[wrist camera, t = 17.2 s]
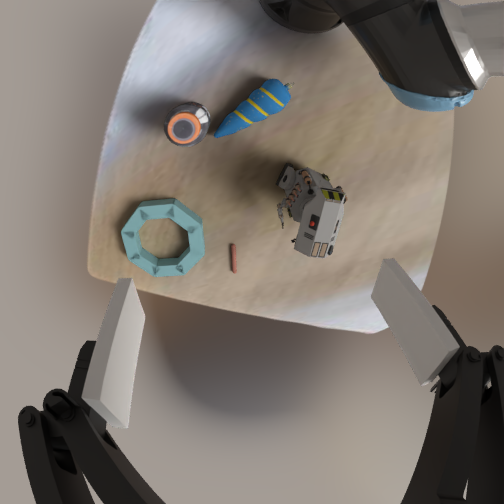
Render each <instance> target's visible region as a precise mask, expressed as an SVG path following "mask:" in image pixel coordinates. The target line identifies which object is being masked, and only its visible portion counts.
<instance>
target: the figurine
mask: <svg viewBox="0 0 504 504" xmlns="http://www.w3.org/2000/svg"><path fill="white" fill-rule="evenodd" d="M293 168H294V167H293V165H291V164H289V163H286V165H285V167H284V169H283V171H282V173H281V175H280V177H279V179H278V181H277V183H276V185H277V186H279V187H280V188H283V189H284V190H285V193H286V197H287V198H286V199H285V198H284V199H283V200H282V202H281V204H277V207H278V209H277V211H278V214H279V218H281V222H282V229H283V226H284V225H283V224H284V223H283V214H282V207H284V206H285V207H286V208H287V209H288V213H289V216H290V217H293V220H294V221H297V222H300V227H299V231H298V234H297V238H296V239H293V240H291V241H292V243H294V242H295V241H294V240H296V242H295V247H294V249H295V250H297V251H299V252H301V253H303V254H305V255H307V256H309V257H316V258H326V257H327V256H328V255H331V254H332V252H333V247H334V244H335V241H336V238H337V235H338V231H339V228H340V225H341V221H342V218H343V215H344V207H343V204H344V203H345V202H346V201H347V197H346V195H345V194H346V193H344V192H343V190H342V188H341V187H340V186H338V187H336V188H334V189H333V187H332V185H331V184H330V182H329V180H330V179H329V178H328V176H327V175H325V174H320V173H318V172H316V171H314V170H312V169H310V168H308V167H307V168H304V169H300V170H297V171H295V170H294V169H293ZM343 202H344V203H343Z"/></svg>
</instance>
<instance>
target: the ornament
mask: <svg viewBox="0 0 504 504" xmlns="http://www.w3.org/2000/svg"><path fill="white" fill-rule="evenodd" d="M291 84H292V83H291ZM293 85H294V84H293ZM291 86H292V85H290V84H289V83H288V84H286V85H283V84H282V83H281V82H280V81H279V80H277V79H269V80H267V81H266V82H264V83H263V85H262V86H261V87H260V89H256V90H254V91H253V92H252V93H251V95H250V96H249V97H248V99H247V100H245V101H243V102H242V103H240V104H239V106H238V107H237V108H236V109H235V111H234V112H231V113H230V114H228V115H227V117H226V118H225V119H224V120H223V122H222V123H221V125H220V126H219V128H218V129H217V131H216V132H215V133H214V137H215V138H218V137H222V136H225V135H229V134H233V133H235V132H237V131H238V130H241V129H244V128H247V127H249V126H250V125H251V124H252V123H253V122H258V121H262V120H264V119H266V118H267V117H268V115H271V114H275V113H278V112H280V111H281V110H282V109H283V108H284V107H285V106H286V104H287V103H288V102H289V100H290V99H291V95H290V94H289V92H288V91H287V90H288V89H290V88H292V87H291Z"/></svg>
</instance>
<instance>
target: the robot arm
mask: <svg viewBox="0 0 504 504" xmlns="http://www.w3.org/2000/svg"><path fill="white" fill-rule="evenodd" d="M260 3H261V5H262V7H263V8H264V10H265V11H266V13H267V14H268V15H269V16H270V17H271V18H272V19H274V20H275V21H276V22H278V23H279V24H281V25H283V26H284V27H287V28H289V29H291V30H294V31H298V32H303V33H322V32H326V31H329V30H331V29H333V28H336V27H338V26H339V25H341V24H342V23H343V22H344V23H345V24H346V26H347V27H348V28H349V30H350V31H351V32H352V34H353V35H354V36H355V38H356V39H357V40H358V42H359V43H360V44H361V46H362V47H363V48H364V50H365V51H366V53H367V54H368V56H369V57H370V59H371V60H372V61H373V63H374V64H375V66H376V68H377V69H378V71H379V75H380V77H381V78H382V80H383V81H384V82H385V83H386V84H387V85H388V86H389V88H390V90H391V91H392V93H393V94H394V96H395V97H396V98H397V99H398V100H399V101H400V102H402V103H403V104H404V105H406V106H408V107H411V108H413V109H417V110H422V111H433V112H434V111H447V110H452V109H454V106H458V107H462V106H464V105H465V104H467V103H468V102H469V101H470V100H471V99H472V97H473V92H474V90H481V89H483V87H484V86H485V83H486V82H487V80H488V78H490V77H491V76H504V1H501V2H488V3H478V4H471V5H464V6H460V5H457V4H455V3H453V2H451V1H449V0H260ZM371 298H372V299H373V301H374V303H375V304H376V306H377V308H378V309H379V311H380V313H381V314H382V316H383V318H384V319H385V321H386V323H387V324H388V326H389V328H390V329H391V331H392V333H393V335H394V336H395V338H396V340H397V342H398V344H399V345H400V347H401V349H402V351H403V352H404V354H405V356H406V358H407V360H408V362H409V364H410V366H411V367H412V370H413V371H414V373H415V375H416V377H417V379H418V381H419V383H420V385H421V386H423V385H425V384H428V383H430V382H432V381H433V380H434V379H435V378H436V376H437V375H439V377H440V380H439V381H438V382H437V383H436V384H435V385H434V386H433V387H432V388H431V392H432V391H433V390H434V389H435V388H436V387H437V389H436V391H435V393H436V394H435V399H434V404H433V409H432V413H431V417H430V422H429V426H428V429H427V433H426V437H425V440H424V444H423V447H422V450H421V453H420V456H419V459H418V462H417V465H416V468H415V471H414V473H413V476H412V479H411V481H410V484H409V486H408V489H407V491H406V493H405V496H404V498H403V500H402V502H401V504H504V348H502V347H501V346H498V345H496V346H493V347H492V349H491V350H490V351H489V352H482V353H480V352H479V351H478V350H477V349H476V348H474V347H471V346H468V347H467V346H466V345H465V343H464V342H463V340H462V339H461V338H460V336H459V335H458V333H457V331H456V330H455V329H454V327H453V326H451V323H450V321H449V320H447V317H446V316H445V315H444V313H443V312H442V311H441V310H440V309H439V308H437V307H436V306H435V305H432V306H431V304H430V303H429V302H428V300H427V299H426V298H425V296H424V295H423V294H422V293H421V291H420V290H419V289H418V287H417V286H416V285H415V283H414V282H413V281H412V280H411V278H410V277H409V276H408V275H407V273H406V272H405V271H404V270H403V269H402V267H401V266H400V265H399V264H398V263H397V261H396V260H395V259H394V258H391V259H383V262H382V265H381V268H380V271H379V274H378V277H377V280H376V283H375V286H374V289H373V292H372V295H371ZM144 322H145V315H144V311H143V309H142V306H141V303H140V300H139V297H138V294H137V291H136V288H135V285H134V282H133V279H132V278H120V279H118V281H117V284H116V287H115V289H114V292H113V294H112V297H111V300H110V302H109V305H108V308H107V311H106V314H105V317H104V319H103V322H102V325H101V329H100V332H99V335H98V338H97V341H86V343H85V344H84V345H83V346H82V348H81V349H80V352H79V355H78V358H77V362H76V365H75V369H74V372H73V375H72V379H71V382H70V386H69V390H68V393H67V392H66V391H64V390H62V389H54V390H51V391H50V392H49V393H47V394H46V396H45V398H44V402H43V409H44V411H39V410H37V409H36V408H35V407H33V406H26V407H24V408H23V409H22V410H21V411H20V413H19V416H18V425H19V432H20V439H21V445H22V451H23V456H24V461H25V465H26V469H27V473H28V477H29V481H30V485H31V488H32V492H33V495H34V498H35V501H36V504H95V503H94V501H93V499H92V496H91V494H90V491H89V489H88V486H87V484H86V481H85V478H84V476H83V474H84V475H85V477H86V478H87V480H88V482H89V483H90V485H91V486H92V488H93V489H94V491H95V492H96V494H97V495H98V496H99V498H100V499H101V501H102V502H103V503H104V504H165V503H164V502H163V501H162V499H161V498H160V497H159V496H158V495H157V494H156V493H155V492H154V491H153V490H152V488H151V487H150V486H149V485H148V484H147V483H146V482H145V480H144V479H143V478H142V477H141V476H140V474H139V473H138V472H137V471H136V470H135V468H134V467H133V466H132V464H131V463H130V462H129V461H128V459H127V458H126V456H125V455H124V454H123V453H122V451H121V450H120V448H119V447H118V445H117V444H116V443H115V441H114V440H113V438H112V437H111V435H110V434H109V432H108V431H107V430H106V423H109V424H110V425H111V426H112V427H118V428H126V429H128V426H129V416H130V407H131V399H132V391H133V384H134V377H135V371H136V365H137V359H138V353H139V347H140V341H141V337H142V331H143V327H144ZM490 381H491V385H492V386H491V387H490V388H489V389H488V387H487V384H488V383H489V382H490ZM82 472H83V473H82ZM467 480H468V485H467V494H466V500H465V499H464V498H463V494H464V490H465V487H466V483H467Z"/></svg>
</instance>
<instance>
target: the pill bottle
mask: <svg viewBox="0 0 504 504" xmlns="http://www.w3.org/2000/svg"><path fill="white" fill-rule="evenodd" d="M209 125H210V114H209V112H208V110H207V109H206V108H205V107H204V106H203V105H201V104H199V103H195V102H191V103H186V104H183V105H180V106H178V107H176V108H174V109H173V110H171V111H170V113H169V114H168V115H167V117H166V119H165V123H164V131H165V134H166V136H167V138H168V139H169V140H170V141H171V142H172V143H173V144H175V145H177V146H181V147H189V146H193V145H196V144H197V143H199V142H200V141H201V140H202V139H203V138H204V137H205V135H206V134H207V131H208V128H209Z"/></svg>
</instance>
